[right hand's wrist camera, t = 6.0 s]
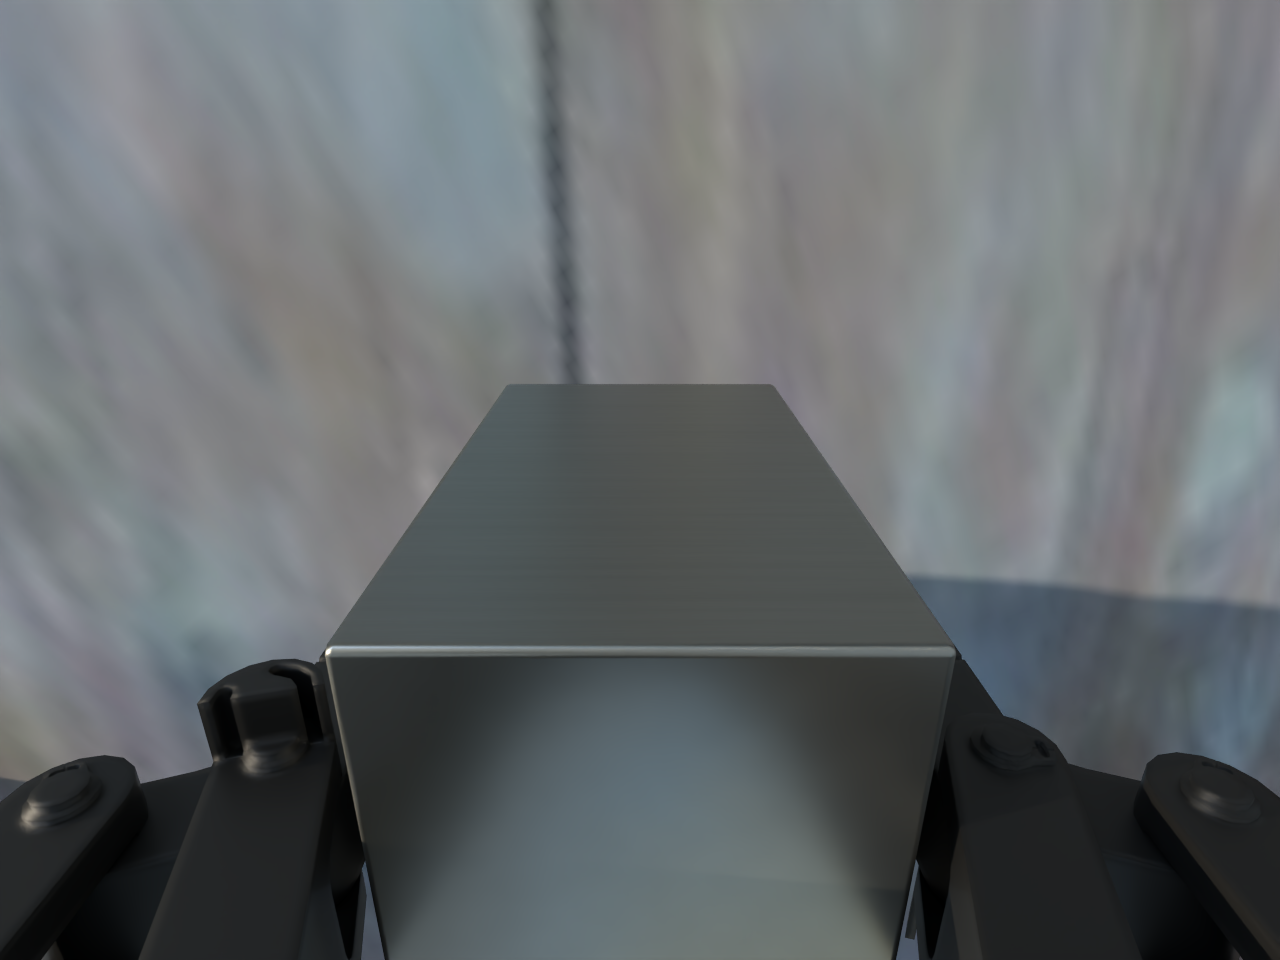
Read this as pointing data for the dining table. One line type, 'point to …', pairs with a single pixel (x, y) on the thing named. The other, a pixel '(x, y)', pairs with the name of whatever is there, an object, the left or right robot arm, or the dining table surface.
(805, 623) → the bar
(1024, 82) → the dining table surface
